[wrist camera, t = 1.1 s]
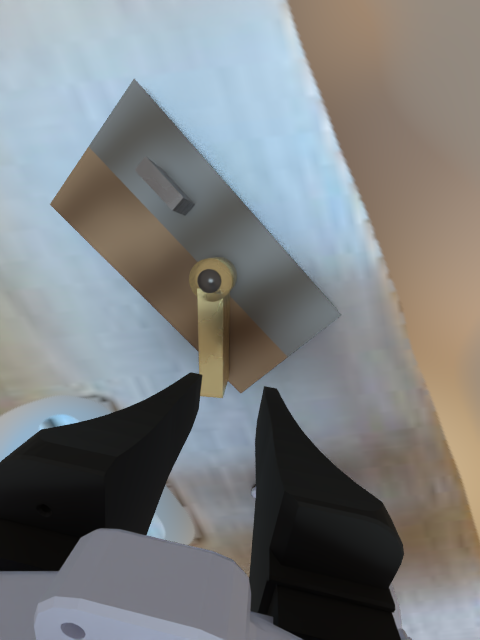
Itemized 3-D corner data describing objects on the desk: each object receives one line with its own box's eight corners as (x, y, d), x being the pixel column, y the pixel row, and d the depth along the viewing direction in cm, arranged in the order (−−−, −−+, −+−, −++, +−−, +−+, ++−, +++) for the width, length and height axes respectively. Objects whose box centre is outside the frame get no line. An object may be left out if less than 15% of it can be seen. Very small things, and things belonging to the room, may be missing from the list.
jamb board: (337, 310, 19) (341, 314, 18) (242, 385, 21) (240, 393, 20) (143, 90, 16) (134, 78, 15) (63, 207, 19) (49, 204, 18)
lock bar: (200, 256, 17) (186, 257, 14) (237, 257, 17) (231, 259, 14) (203, 375, 20) (191, 397, 17) (234, 378, 20) (229, 401, 17)
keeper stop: (195, 204, 17) (183, 197, 14) (185, 215, 17) (172, 210, 15) (162, 169, 16) (145, 155, 14) (153, 181, 16) (134, 170, 14)
